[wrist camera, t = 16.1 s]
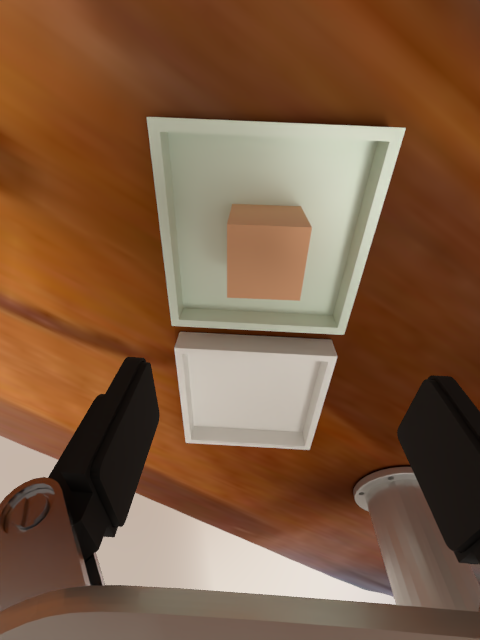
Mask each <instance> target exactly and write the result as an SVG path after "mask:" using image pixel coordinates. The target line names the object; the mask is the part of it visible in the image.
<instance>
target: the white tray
mask: <svg viewBox="0 0 480 640" xmlns="http://www.w3.org/2000/svg"><path fill="white" fill-rule="evenodd" d="M174 350H175V358H176V366H177V375H178V383H179V391H180V400H181V408H182V416H183V425H184V433H185V441H186V443H197V444H214V445H232V446H249V447H267V448H284V449H302V450H310V447H311V444H312V440H313V437H314V434H315V430H316V427H317V424H318V420H319V417H320V414H321V410H322V407H323V404H324V400H325V397H326V394H327V390H328V387H329V384H330V380H331V377H332V374H333V370H334V367H335V363H336V360H337V357H338V356H337V353H336V351H335V348H334V345H333V342H332V340H331V339H312V338H292V337H273V336H254V335H235V334H216V333H197V332H180V333H179V336H178V339H177V341H176V344H175V347H174Z"/></svg>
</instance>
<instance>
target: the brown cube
mask: <svg viewBox="0 0 480 640" xmlns="http://www.w3.org/2000/svg"><path fill="white" fill-rule="evenodd" d="M311 231H312V226H311V225H310V223H309V221H308V219H307V217H306V215H305V213H304V211H303V209H302V207H301V206H279V205H251V204H232V207H231V211H230V214H229V218H228V222H227V298H248V299H272V300H296V301H300V297H301V291H302V285H303V279H304V273H305V267H306V261H307V255H308V249H309V243H310V237H311Z"/></svg>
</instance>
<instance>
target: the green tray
mask: <svg viewBox="0 0 480 640" xmlns="http://www.w3.org/2000/svg"><path fill="white" fill-rule="evenodd" d="M146 118H147V126H148V134H149V142H150V151H151V159H152V167H153V176H154V184H155V192H156V200H157V209H158V217H159V225H160V234H161V242H162V250H163V259H164V267H165V275H166V283H167V292H168V300H169V308H170V317H171V325H172V326H183V327H202V328H221V329H241V330H260V331H279V332H298V333H317V334H337V335H344V333H345V330H346V327H347V323H348V320H349V317H350V313H351V310H352V307H353V303H354V300H355V297H356V293H357V290H358V287H359V283H360V280H361V277H362V273H363V270H364V266H365V263H366V260H367V256H368V253H369V250H370V246H371V243H372V240H373V236H374V233H375V230H376V226H377V223H378V220H379V216H380V213H381V210H382V206H383V203H384V200H385V196H386V193H387V190H388V186H389V183H390V180H391V176H392V173H393V170H394V166H395V163H396V159H397V156H398V153H399V149H400V146H401V143H402V139H403V136H404V133H405V129H406V128H398V127H380V126H357V125H333V124H310V123H287V122H263V121H240V120H217V119H194V118H170V117H146ZM232 204H251V205H279V206H301V207H302V209H303V211H304V213H305V215H306V217H307V219H308V221H309V223H310V225H311V226H312V231H311V237H310V243H309V249H308V255H307V261H306V267H305V273H304V279H303V285H302V291H301V297H300V301H296V300H272V299H248V298H227V222H228V218H229V214H230V211H231V207H232Z"/></svg>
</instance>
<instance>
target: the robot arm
mask: <svg viewBox="0 0 480 640" xmlns="http://www.w3.org/2000/svg"><path fill="white" fill-rule="evenodd" d="M158 422H159V408H158V402H157V397H156V391H155V386H154V380H153V374H152V369H151V364H150V363H148V362H146V360H145V359H144V358H136V357H127V358H126V359H125V360H124V362H123V364H122V365H121V367H120V369H119V371H118V372H117V374H116V376H115V378H114V380H113V381H112V383H111V385H110V387H109V388H108V390H107V392H106V394H100V395H98V396H97V397H96V399H95V400H94V401H93V403H92V405H91V407H90V408H89V410H88V412H87V413H86V415H85V417H84V418H83V420H82V422H81V423H80V425H79V427H78V428H77V430H76V432H75V433H74V435H73V437H72V438H71V440H70V442H69V444H68V445H67V447H66V449H65V450H64V452H63V454H62V455H61V457H60V459H59V460H58V462H57V464H56V465H55V467H54V469H53V470H52V472H51V474H50V476H49V477H48V478H45V477H43V478H36V479H33V480H30V481H28V482H25V483H23V484H22V485H20V486H19V487H17V488H16V489H14V490H13V491H12V492H11V493H10V494H9V495H7V496H6V497H5V498H4V500H3V501H2V502H1V504H0V640H480V585H479V583H478V581H477V579H476V577H475V575H474V573H473V570H472V568H471V566H470V564H480V412H479V410H478V409H477V408H476V407H475V405H474V404H473V403H472V401H471V400H470V399H469V397H468V396H467V395H466V394H465V392H464V391H463V390H462V388H461V387H460V386H459V385H458V383H457V382H456V381H455V380H454V379H453V378H452V377H448V376H430V377H429V378H428V379H427V380H424V381H423V383H422V385H421V386H420V388H419V390H418V392H417V394H416V396H415V398H414V399H413V401H412V403H411V405H410V407H409V409H408V411H407V413H406V414H405V416H404V418H403V420H402V422H401V424H400V426H399V428H398V432H397V433H398V439H399V441H400V443H401V446H402V448H403V450H404V452H405V454H406V457H407V459H408V461H409V463H410V466H411V467H395V468H388V469H384V470H380V471H377V472H374V473H372V474H370V475H367V476H366V477H364V478H363V479H361V480H360V481H359V482H358V483H357V484H356V486H355V487H354V490H353V494H354V499H355V501H356V503H357V504H358V506H360V507H361V508H363V509H364V510H366V511H369V513H370V516H371V520H372V523H373V527H374V530H375V534H376V537H377V540H378V544H379V547H380V551H381V554H382V558H383V561H384V564H385V568H386V571H387V575H388V578H389V582H390V585H391V588H392V592H393V595H394V599H395V602H396V605H391V604H378V603H366V602H353V601H340V600H328V599H327V600H326V599H314V598H302V597H289V596H276V595H263V594H248V593H235V592H220V591H208V590H207V591H206V590H194V589H180V588H160V587H142V586H121V585H105V583H104V579H103V576H102V572H101V570H100V566H99V562H98V559H97V555H96V551H97V550H98V549H99V547H100V544H101V542H102V539H103V536H106V537H115V534H116V531H117V528H118V526H123V525H124V523H125V520H126V518H127V515H128V512H129V509H130V506H131V503H132V500H133V497H134V494H135V491H136V488H137V485H138V482H139V479H140V476H141V473H142V470H143V467H144V464H145V461H146V458H147V455H148V452H149V449H150V446H151V443H152V440H153V437H154V434H155V431H156V428H157V425H158Z"/></svg>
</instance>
